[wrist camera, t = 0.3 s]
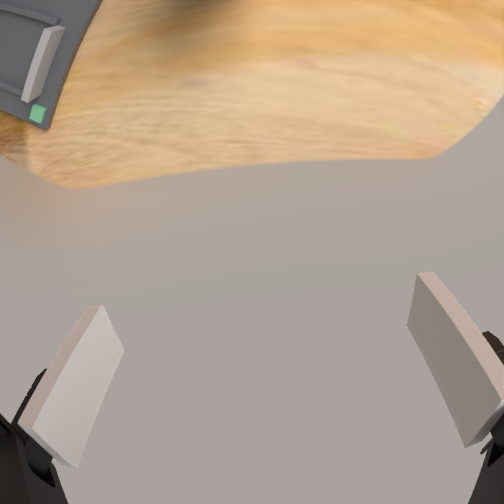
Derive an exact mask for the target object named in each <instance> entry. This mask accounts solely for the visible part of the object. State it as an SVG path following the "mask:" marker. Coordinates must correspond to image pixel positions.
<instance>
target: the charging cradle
mask: <svg viewBox="0 0 504 504" xmlns="http://www.w3.org/2000/svg"><path fill="white" fill-rule="evenodd" d="M101 2H102V0H0V110H2V111H4V112H7V113H9V114H11V115H13V116H15V117H18V118H20V119H22V120H24V121H26V122H28V123H31V124H33V125H35V126H37V127H39V128H41V129H44V130H47V129H48V128H49V127H50V125H51V122H52V118H53V115H54V112H55V109H56V106H57V102H58V99H59V97H60V94H61V91H62V88H63V85H64V82H65V80H66V77H67V75H68V72H69V69H70V67H71V64H72V62H73V60H74V57H75V55H76V53H77V50H78V48H79V46H80V44H81V41H82V39H83V37H84V35H85V33H86V31H87V29H88V27H89V25H90V23H91V21H92V19H93V17H94V15H95V13H96V11H97V9H98V8H99V6H100V4H101Z"/></svg>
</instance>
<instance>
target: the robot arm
mask: <svg viewBox="0 0 504 504" xmlns="http://www.w3.org/2000/svg"><path fill="white" fill-rule="evenodd" d="M407 326H408V328H409V330H410V332H411V334H412V335H413V337H414V339H415V341H416V343H417V345H418V347H419V348H420V351H421V353H422V354H423V356H424V358H425V360H426V362H427V364H428V366H429V368H430V370H431V372H432V374H433V376H434V378H435V380H436V382H437V385H438V387H439V389H440V391H441V393H442V395H443V398H444V400H445V402H446V404H447V406H448V408H449V411H450V413H451V415H452V417H453V420H454V422H455V425H456V427H457V429H458V432H459V434H460V437H461V439H462V441H463V444H464V447H465V448H466V447H469V446H471V445H473V444H476V443H478V442H480V441H482V440H483V439H484V438H485V437H486V436H487V434H488V433H489V432H491V434H492V437H493V438H492V439H491V440H490V441H489V442H488V443H487V444H486V445H485V447H484V448H483V449H482V451H481V453H480V454H483V453H484V452H485V451H486V450H487V449H488V450H487V453H486V456H485V459H484V462H483V466H482V468H481V472H480V474H479V477H478V480H477V483H476V485H475V488H474V490H473V493H472V496H471V498H470V500H469V502H468V504H504V346H503V345H502V343H501V342H500V340H499V339H498V338H497V337H496V336H494V335H493V334H491V333H490V332H489V331H487V332H484V333H481V332H480V330H479V329H478V328H477V326H476V325H475V324H474V322H473V321H472V320H471V318H470V317H469V316H468V314H467V313H466V312H465V310H464V309H463V308H462V307H461V305H460V304H459V303H458V301H457V300H456V299H455V298H454V296H453V295H452V294H451V293H450V292H449V290H448V289H447V288H446V287H445V285H444V284H443V283H442V282H441V281H440V279H439V278H438V277H437V276H436V275H435V273H434V272H433V271H429V272H422V273H417V276H416V283H415V288H414V294H413V300H412V305H411V309H410V314H409V319H408V324H407ZM123 352H124V349H123V346H122V344H121V343H120V340H119V339H118V337H117V334H116V332H115V330H114V328H113V326H112V324H111V322H110V319H109V317H108V315H107V313H106V311H105V308H104V306H103V304H90V305H88V307H87V308H86V310H85V311H84V312H83V314H82V315H81V317H80V318H79V320H78V321H77V323H76V324H75V326H74V327H73V329H72V331H71V332H70V333H69V335H68V337H67V338H66V340H65V341H64V343H63V344H62V346H61V347H60V349H59V351H58V352H57V354H56V355H55V357H54V359H53V360H52V362H51V364H50V365H49V367H48V369H44V371H42V373H40V374H39V375H38V376H37V378H36V379H35V381H34V383H33V384H32V388H31V389H30V390H29V391H28V393H27V396H26V397H25V398H24V400H23V402H22V404H21V406H20V408H19V409H18V411H17V413H16V415H15V417H14V419H13V421H12V422H11V424H10V423H9V422H8V421H7V420H6V419H5V418H4V417H3V416H2V415H1V414H0V504H68V502H67V499H66V497H65V494H64V491H63V489H62V486H61V483H60V480H59V477H58V474H57V471H56V468H55V467H54V465H53V464H52V463H51V461H52V458H54V459H56V460H57V461H58V462H59V463H61V464H62V465H64V466H67V467H71V468H74V469H77V468H78V465H79V462H80V459H81V456H82V454H83V451H84V448H85V445H86V443H87V440H88V437H89V434H90V432H91V429H92V427H93V424H94V421H95V419H96V416H97V414H98V411H99V409H100V406H101V404H102V401H103V399H104V396H105V394H106V391H107V389H108V387H109V384H110V382H111V380H112V377H113V375H114V373H115V370H116V368H117V366H118V363H119V361H120V359H121V357H122V354H123Z"/></svg>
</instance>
